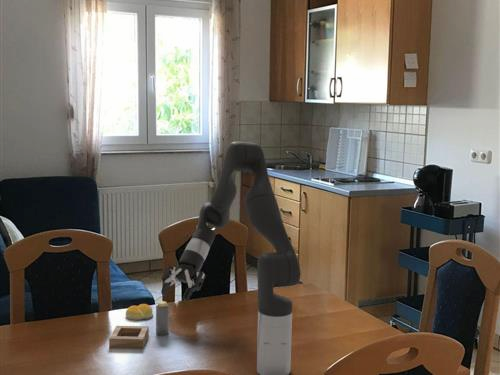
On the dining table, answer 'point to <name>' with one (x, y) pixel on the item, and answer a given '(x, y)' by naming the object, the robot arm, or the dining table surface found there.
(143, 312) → the bread roll
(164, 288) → the robot arm
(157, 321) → the plug
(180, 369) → the dining table surface
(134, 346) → the socket
